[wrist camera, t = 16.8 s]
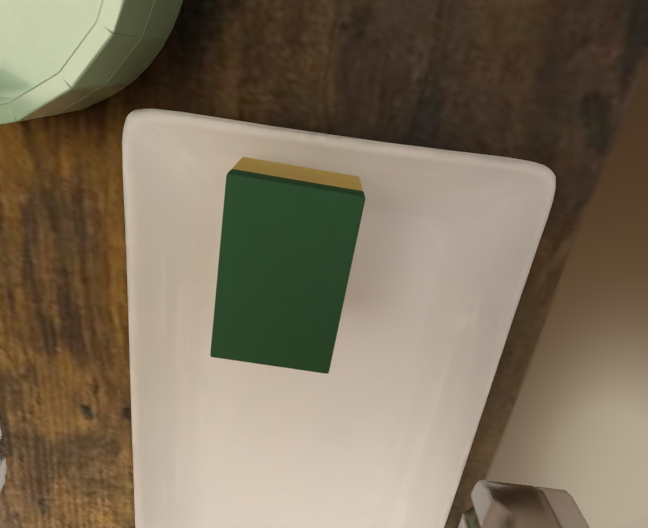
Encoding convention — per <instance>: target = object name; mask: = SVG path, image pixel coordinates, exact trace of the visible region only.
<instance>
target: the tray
mask: <svg viewBox="0 0 648 528" xmlns="http://www.w3.org/2000/svg"><path fill="white" fill-rule="evenodd" d="M122 157H123V190H124V210H125V232H126V259H127V287H128V322H129V356H130V388H131V419H132V446H133V471H134V504H135V528H444V526H445V523H446V520H447V518H448V515H449V512H450V509H451V506H452V503H453V500H454V497H455V494H456V491H457V488H458V485H459V482H460V479H461V476H462V473H463V470H464V467H465V464H466V461H467V458H468V455H469V452H470V449H471V445H472V442H473V439H474V436H475V433H476V430H477V427H478V424H479V421H480V418H481V415H482V412H483V409H484V406H485V403H486V400H487V397H488V394H489V390H490V387H491V384H492V381H493V378H494V375H495V372H496V369H497V366H498V363H499V360H500V357H501V354H502V351H503V348H504V345H505V342H506V339H507V336H508V333H509V330H510V326H511V323H512V320H513V317H514V315H515V312H516V309H517V306H518V303H519V300H520V297H521V294H522V291H523V288H524V285H525V283H526V280H527V277H528V274H529V271H530V268H531V265H532V262H533V259H534V256H535V253H536V250H537V247H538V244H539V241H540V238H541V235H542V233H543V230H544V227H545V224H546V221H547V219H548V215H549V212H550V209H551V206H552V203H553V198H554V193H555V188H556V176H555V175H554V173H553V172H552V171H551V170H550V169H549V168H548V167H546V166H544V165H542V164H539V163H536V162H532V161H526V160H520V159H515V158H509V157H501V156H493V155H485V154H476V153H468V152H460V151H452V150H444V149H436V148H428V147H420V146H412V145H403V144H395V143H387V142H380V141H373V140H366V139H359V138H352V137H345V136H338V135H331V134H324V133H316V132H309V131H303V130H296V129H289V128H282V127H276V126H269V125H262V124H256V123H250V122H244V121H238V120H231V119H225V118H219V117H212V116H206V115H199V114H193V113H187V112H179V111H171V110H163V109H138V110H135V111H132V112H131V113H129V115H128V116H127V118H126V121H125V124H124V128H123V138H122ZM242 157H248V158H254V159H259V160H265V161H271V162H277V163H283V164H289V165H295V166H300V167H306V168H312V169H318V170H324V171H330V172H335V173H341V174H347V175H353V176H358V177H360V181H361V184H362V188H363V192H364V195H365V203H364V208H363V213H362V218H361V222H360V227H359V232H358V237H357V241H356V246H355V251H354V256H353V260H352V265H351V270H350V275H349V279H348V284H347V289H346V294H345V299H344V303H343V308H342V313H341V318H340V322H339V327H338V332H337V337H336V341H335V346H334V351H333V356H332V360H331V365H330V370H329V373H328V374H325V373H318V372H311V371H304V370H297V369H291V368H284V367H277V366H270V365H263V364H256V363H249V362H242V361H235V360H228V359H221V358H214V357H211V355H210V352H211V341H212V330H213V319H214V308H215V296H216V285H217V274H218V263H219V252H220V241H221V230H222V218H223V207H224V196H225V185H226V175H227V173H228V172H229V171H230V170H231V169H232V168H233V167H234V166H235V165H236V164H237V162H238V161H239V160H240V159H241V158H242Z"/></svg>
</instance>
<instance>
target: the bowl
mask: <svg viewBox="0 0 648 528" xmlns="http://www.w3.org/2000/svg"><path fill="white" fill-rule="evenodd" d="M182 3H183V0H0V125H2V124H8V123H14V122H20V121H25V120H30V119H35V118H41V117H46V116H51V115H56V114H62V113H67V112H72V111H77V110H82V109H85V108H87V107H89V106H91V105H93V104H96V103H99V102H101V101H103V100H105V99H107V98H109V97H111V96H113V95H115V94H117V93H118V92H120V91H121V90H122V89H124V88H125V87H127V86H128V85H129V84H131V83H132V82H133V81H135V80H136V79H137V78H138V77H139V76H140V75H141V74H142V73H143V72H144V71H145V70H146V69H147V68H148V67H149V66H150V64H151V63H152V61H153V60H154V59H155V57H156V56H157V55H158V53H159V52H160V51H161V49H162V48H163V46H164V44H165V42H166V40H167V39H168V37H169V35H170V33H171V31H172V29H173V27H174V25H175V22H176V19H177V17H178V14H179V11H180V9H181V6H182Z"/></svg>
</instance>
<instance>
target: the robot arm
mask: <svg viewBox="0 0 648 528" xmlns="http://www.w3.org/2000/svg"><path fill="white" fill-rule="evenodd" d="M1 438H2V433H1V428H0V439H1ZM6 469H7V468H6V459H5V456H4V455H3V454H2V453H1V452H0V492H1V490H2V487H3V485H4V483H5V476H6ZM471 498H472V501H473V504H474V506H473V507H472V508H470V509H469V510H467V511H466V512H464V513H463V516H462V519H461V521H460V524H459V528H590V527H589V526H588V524H587V522H586V520H585V518H584V517H583V515H582V513H581V511H580V510H579V508H578V507H577V504H576V503H575V501H574V499H573V497H572V496H571V495H570V494H569V493H568V492H567V491H565V490H559V489H552V488H551V489H550V488H543V487H533V486H527V485H518V484H509V483H501V482H492V481H484V480H480V481H479V482H478V483H477V484H476V485H475V486H474V489H473V491H472V493H471Z"/></svg>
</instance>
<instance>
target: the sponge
mask: <svg viewBox="0 0 648 528" xmlns="http://www.w3.org/2000/svg"><path fill="white" fill-rule="evenodd" d="M364 203H365V195H364V192H363V188H362V184H361V181H360V177H358V176H353V175H347V174H341V173H335V172H330V171H324V170H318V169H312V168H306V167H300V166H295V165H289V164H283V163H277V162H271V161H265V160H259V159H254V158H248V157H242V158H241V159H240V160H239V161H238V162H237V164H236V165H235V166H234V167H233V168H232V169H231V170H230V171H229V172H228V173H227V175H226V185H225V196H224V207H223V218H222V230H221V241H220V252H219V263H218V274H217V285H216V296H215V308H214V319H213V330H212V341H211V352H210V355H211V357H214V358H221V359H228V360H235V361H242V362H249V363H256V364H263V365H270V366H277V367H284V368H291V369H297V370H304V371H311V372H318V373H325V374H328V373H329V370H330V365H331V360H332V356H333V351H334V346H335V341H336V337H337V332H338V327H339V322H340V318H341V313H342V308H343V303H344V299H345V294H346V289H347V284H348V279H349V275H350V270H351V265H352V260H353V256H354V251H355V246H356V241H357V237H358V232H359V227H360V222H361V218H362V213H363V208H364Z"/></svg>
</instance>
